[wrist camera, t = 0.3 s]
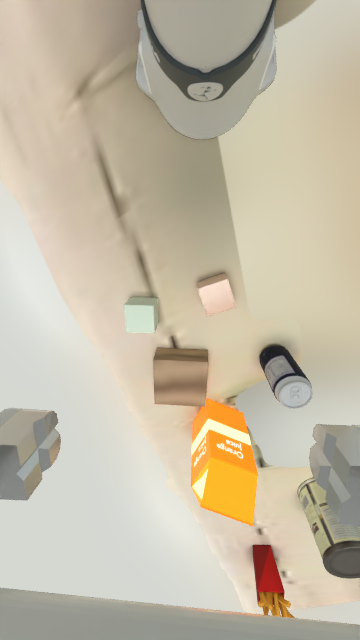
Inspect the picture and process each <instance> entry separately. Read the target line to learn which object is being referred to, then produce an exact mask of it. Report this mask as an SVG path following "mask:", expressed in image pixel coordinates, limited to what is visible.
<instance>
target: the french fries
mask: <svg viewBox="0 0 360 640" xmlns="http://www.w3.org/2000/svg"><path fill="white" fill-rule="evenodd" d="M253 560H254V570H255V580H256V590H257V600H258V605H259V607H263V611H264V615H268V611H269V609H270V610H271V612H272V615H273V616H279V617H281V615H280V611H279V608H280V610H281V614H282V617H289V618H295V617H293V616H292V615H291V614H290V613H289V612H288V610H287V609H286V607H290V605H291V604H290V602H289V601H287V600H285V599H284V588H283V585H282V582H281V579H280V575H279V572H278V569H277V565H276V562H275V559H274V556H273V552H272V549H271V546H270V545H253ZM265 605H266V606H265ZM273 605H274V606H273ZM285 606H286V607H285Z"/></svg>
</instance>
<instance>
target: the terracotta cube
mask: <svg viewBox="0 0 360 640" xmlns="http://www.w3.org/2000/svg"><path fill="white" fill-rule="evenodd" d="M198 292H199V294H200V297H201V300H202V303H203V306H204V309H205V312H206V315H207V316H210V315H214V314H217V313H220V312H223V311H227V310H230V309H233V308H236V305H235V301H234V298H233V294H232V291H231V288H230V284H229V281H228V278H227V276H226V274H225V273H223V274H220V275H218V276H215V277H212V278H209V279H206V280H203V281H200V282H198Z"/></svg>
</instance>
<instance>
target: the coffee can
mask: <svg viewBox="0 0 360 640" xmlns="http://www.w3.org/2000/svg"><path fill="white" fill-rule="evenodd" d="M298 496H299V498H300V501H301V503H302V506H303V509H304V511H305V514H306V517H307V519H308V522H309V525H310V527H311V530H312V533H313V535H314V538H315V541H316V543H317V546H318V548H319V551H320V554H321V556H322V559H323V564H324V567H325V569H326V570H327V571H328V572H329V573H330V574H332V575H334V576H337V577H341V578H360V526H351V525H342V524H338V523H337V521H336V519H335V517H334V515H333V513H332V511H331V510H330V508H329V506H328V504H327V502H326V500H325V496H326V491H325V490H324V489H323V488H321V487H320V486H319V485H318V484H317V483H316V481H315V479H314V478H311V479H308V480H307V481H305V482H303V483H302V484H301V485H300V487H299V489H298Z"/></svg>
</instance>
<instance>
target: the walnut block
mask: <svg viewBox="0 0 360 640" xmlns="http://www.w3.org/2000/svg"><path fill="white" fill-rule="evenodd" d="M153 362H154V398H155V404H167V405H184V406H201V407H205V405H206V389H207V374H208V352H207V350H199V349H176V348H157V350H156V353H155V356H154V359H153Z"/></svg>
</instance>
